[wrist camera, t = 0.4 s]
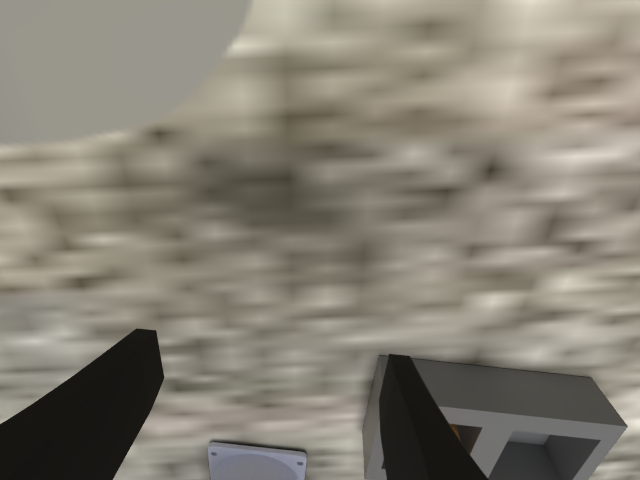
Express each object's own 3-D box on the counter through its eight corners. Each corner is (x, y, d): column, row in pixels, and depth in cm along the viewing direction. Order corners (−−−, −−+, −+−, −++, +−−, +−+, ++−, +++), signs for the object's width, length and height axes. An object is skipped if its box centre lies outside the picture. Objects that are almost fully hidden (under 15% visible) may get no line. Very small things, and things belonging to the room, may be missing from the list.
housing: (545, 451, 28) (598, 556, 22) (362, 431, 28) (367, 530, 22) (591, 377, 24) (669, 481, 18) (379, 355, 24) (390, 451, 18)
